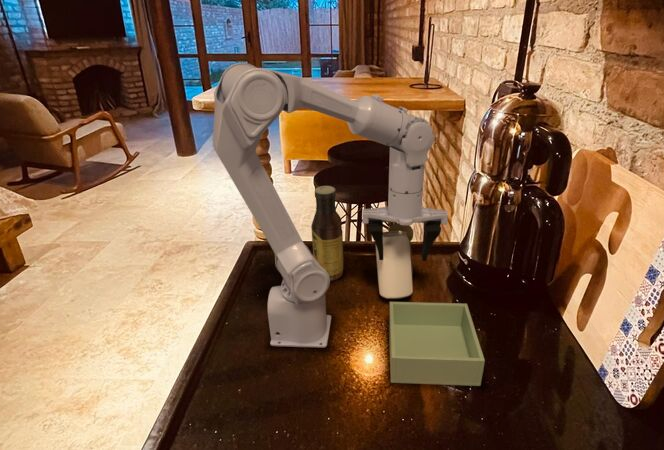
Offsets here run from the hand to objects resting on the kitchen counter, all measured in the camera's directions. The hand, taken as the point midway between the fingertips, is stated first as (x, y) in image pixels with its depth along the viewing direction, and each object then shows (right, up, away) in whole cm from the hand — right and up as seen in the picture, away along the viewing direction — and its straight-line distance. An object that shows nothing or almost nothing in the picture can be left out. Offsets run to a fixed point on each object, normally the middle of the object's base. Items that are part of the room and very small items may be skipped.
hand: (402, 257), depth 74 cm
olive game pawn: (+1, -4, +14) cm, 15 cm away
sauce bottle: (-14, -5, +13) cm, 20 cm away
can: (-1, -8, +5) cm, 9 cm away
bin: (+4, -15, -8) cm, 17 cm away
